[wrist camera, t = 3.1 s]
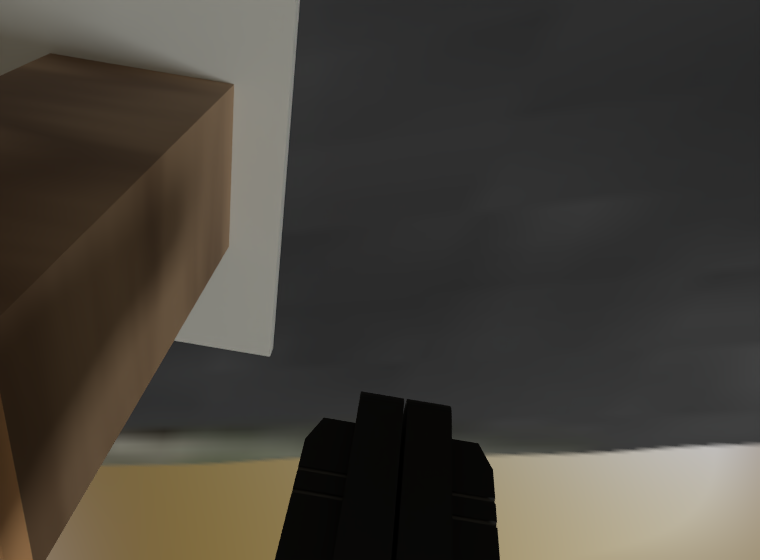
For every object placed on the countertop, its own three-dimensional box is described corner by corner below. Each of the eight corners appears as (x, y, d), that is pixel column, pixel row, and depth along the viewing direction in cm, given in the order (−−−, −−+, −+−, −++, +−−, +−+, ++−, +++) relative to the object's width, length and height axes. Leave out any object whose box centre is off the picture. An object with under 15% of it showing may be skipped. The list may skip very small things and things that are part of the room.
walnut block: (67, 218, 21) (-303, 557, 10) (50, 53, 18) (-466, 286, 8) (228, 246, 21) (16, 610, 10) (234, 84, 18) (-42, 357, 8)
